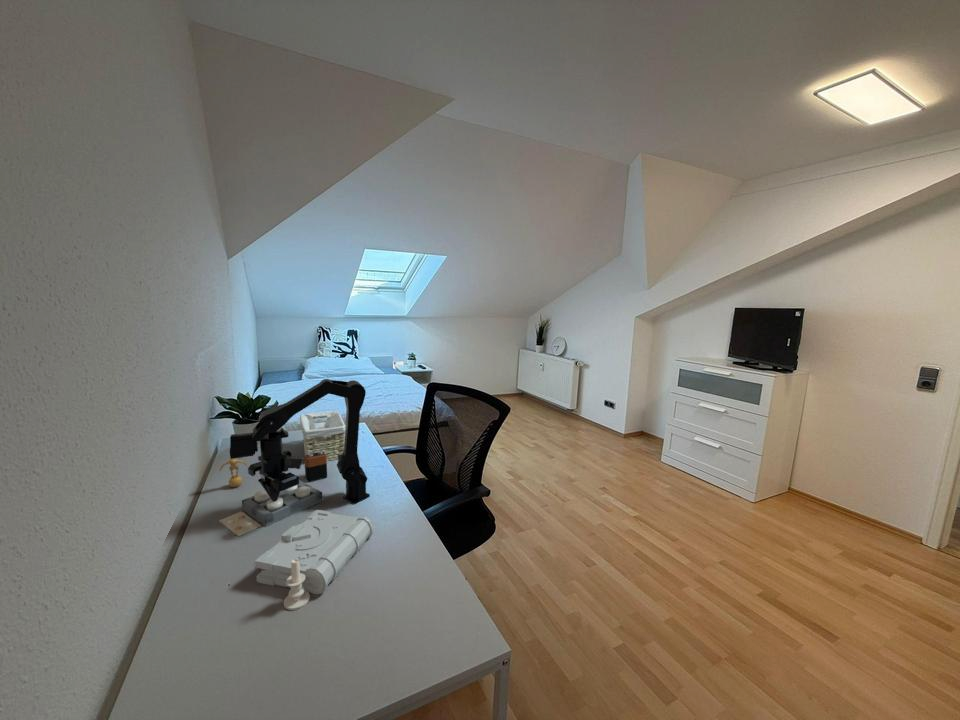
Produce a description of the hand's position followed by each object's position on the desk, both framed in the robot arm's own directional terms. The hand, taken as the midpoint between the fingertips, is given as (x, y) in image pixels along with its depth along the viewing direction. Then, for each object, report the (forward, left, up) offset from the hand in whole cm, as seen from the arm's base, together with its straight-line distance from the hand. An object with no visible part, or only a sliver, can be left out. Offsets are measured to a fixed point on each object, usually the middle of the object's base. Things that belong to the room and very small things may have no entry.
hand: (274, 500), depth 116 cm
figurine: (+27, 0, -5) cm, 28 cm away
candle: (-37, +15, -5) cm, 40 cm away
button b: (+7, -9, -3) cm, 12 cm away
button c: (0, 0, -2) cm, 2 cm away
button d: (+8, 0, -2) cm, 8 cm away
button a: (0, -9, -2) cm, 9 cm away
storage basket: (+31, -37, -5) cm, 49 cm away
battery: (+12, -21, -5) cm, 25 cm away
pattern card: (+4, +9, -5) cm, 11 cm away
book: (-27, +1, -5) cm, 27 cm away
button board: (+4, -4, -5) cm, 7 cm away
